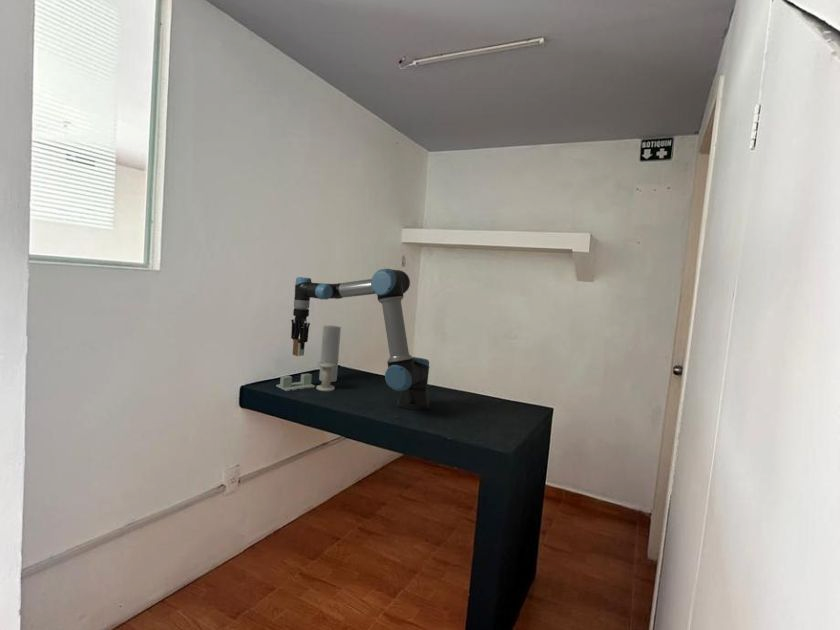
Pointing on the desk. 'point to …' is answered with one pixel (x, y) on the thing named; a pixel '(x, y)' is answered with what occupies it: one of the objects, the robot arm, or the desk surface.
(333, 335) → the cylinder container
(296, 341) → the brown wooden block
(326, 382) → the bobbin
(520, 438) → the desk surface
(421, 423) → the desk surface
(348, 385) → the desk surface
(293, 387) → the terminal board
